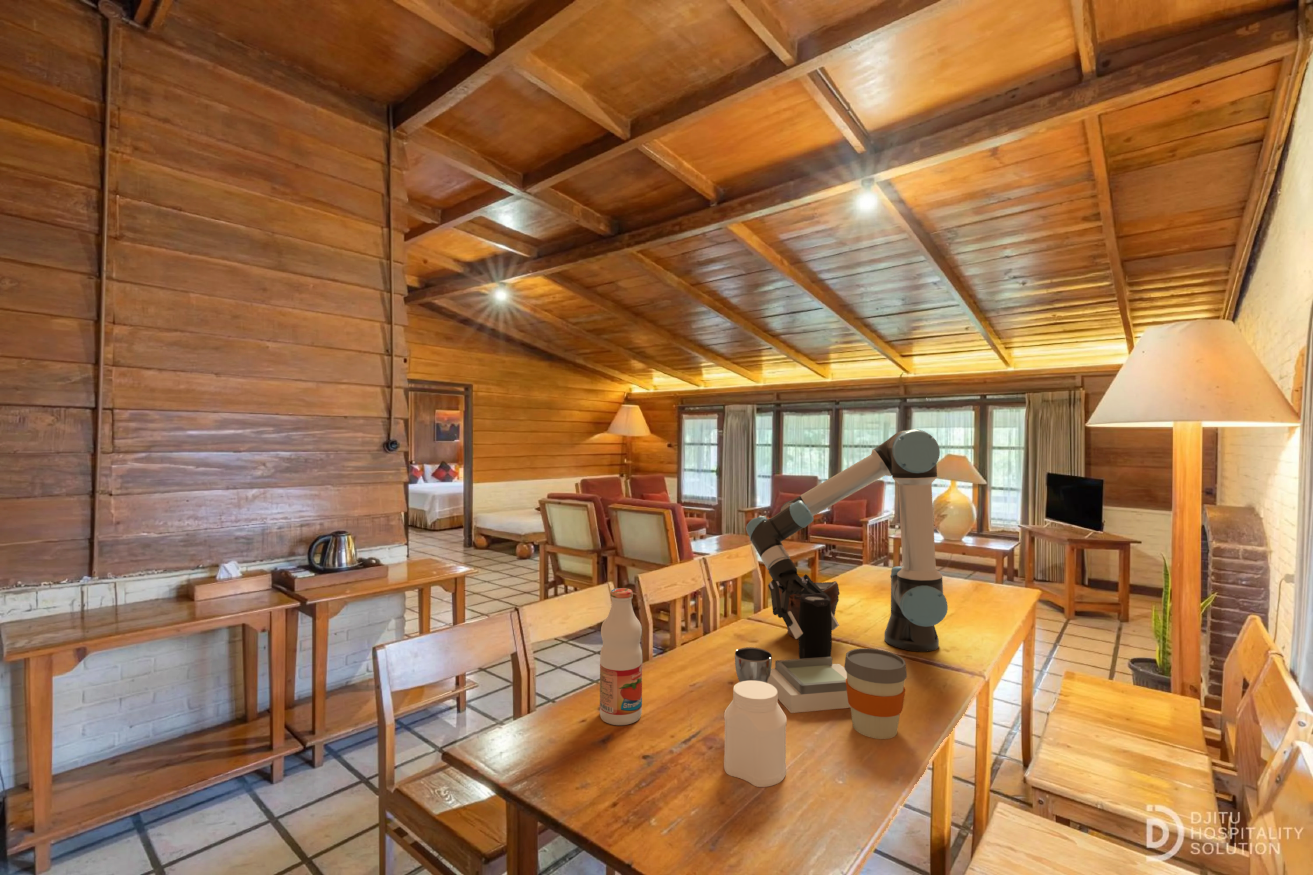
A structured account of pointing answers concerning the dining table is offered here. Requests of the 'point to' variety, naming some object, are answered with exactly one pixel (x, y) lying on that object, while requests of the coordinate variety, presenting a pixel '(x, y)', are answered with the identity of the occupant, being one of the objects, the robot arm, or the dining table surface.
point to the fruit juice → (621, 662)
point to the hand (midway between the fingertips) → (818, 631)
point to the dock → (810, 684)
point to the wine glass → (753, 664)
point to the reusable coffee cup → (875, 691)
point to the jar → (755, 734)
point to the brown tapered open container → (795, 599)
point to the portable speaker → (815, 626)
